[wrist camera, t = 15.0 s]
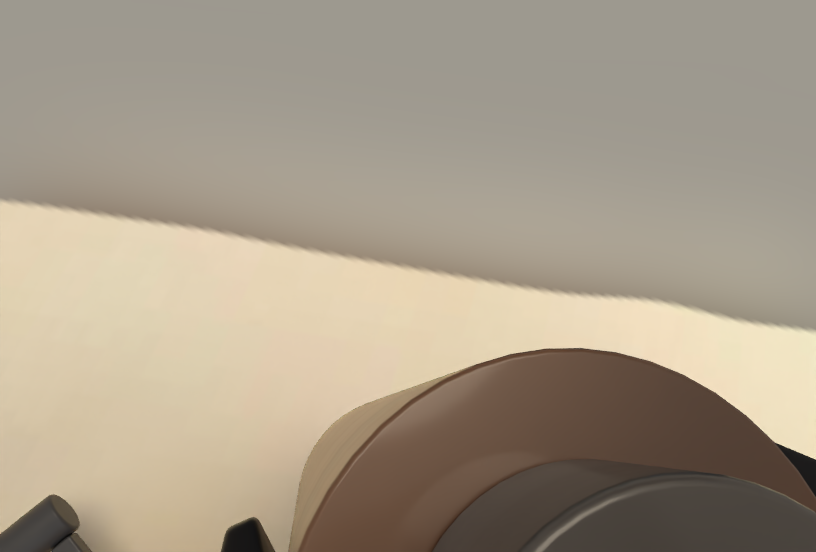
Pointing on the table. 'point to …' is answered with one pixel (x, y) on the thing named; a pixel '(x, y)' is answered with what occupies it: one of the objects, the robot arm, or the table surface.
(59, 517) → the drawer
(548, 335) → the table surface
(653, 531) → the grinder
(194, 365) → the table surface
